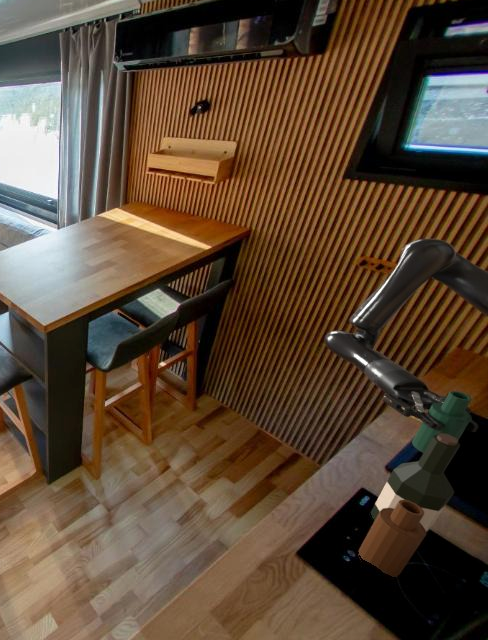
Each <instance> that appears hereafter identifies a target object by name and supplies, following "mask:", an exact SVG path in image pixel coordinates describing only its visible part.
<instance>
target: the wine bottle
mask: <svg viewBox="0 0 488 640" xmlns="http://www.w3.org/2000/svg"><path fill="white" fill-rule="evenodd" d="M460 447H461V444H460V443H459V439H458V440H457V439H456V438H455V437H453V436H451V435H448V434H443V433H440V434H436V435H435V436H433V438H432V439H431V441H430V443H429V445H428V446H427V448H426V450H425V452H424V453H422V455H421V457H420V458H419V460H418V461H417V460H416V461H410V462H404V463H403V462H402V463H401V464H399V465H397V466H396V467H395V468H394V469H393V470H392V471H391V474H390V475H389V477H388V479H387V481H386V482H385V484H384V486H383V488H382V490H381V492H380V494H379V495H378V498H377V500H376V501H375V503H374V505H373V507H372V509H371V511H370V513H371V515H372V518H373V519H374V521H375V519H376V518H377V516H378V514H379V512H380V511H381V510H382V509H383V508H393V509H395V507H396V505H397V503H398V502H399V500H409V501H411V502H413V503H415V504H417V505H418V506H420V507H421V508H422V509H423V511H424V516H423V517H422V519H421V520H420V523H421V524H422V526H423V527H424V528H425V531H426V535H427V534H428V533H429V531H430V529H432V527H433V525H434V524H435V522H436V521H437V519H438V517H439V516H440V515H441V513H442V512H443V510H444V509H445V508H446V506H447V505H448V503H449V502H450V500H451V498H452V497H453V495H454V494H455V490H454V488H453V487H452V485H451V483H450V481H449V480H448V478H447V476H446V473H445V471H446V469H447V467H448V466H449V465H450V463H451V461H452V460H453V458H454V457H455V455H456V453H457V452H458V450H459V449H460ZM372 518H371V519H372ZM373 519H372V520H373ZM374 521H373V522H374Z"/></svg>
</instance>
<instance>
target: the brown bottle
mask: <svg viewBox="0 0 488 640" xmlns="http://www.w3.org/2000/svg"><path fill="white" fill-rule="evenodd" d="M423 516H424V511H423V509H422V508H421V507H420V506H418V505H417V504H415V503H413V502H411V501H409V500H399V502H398V503H397V505H396V507H395V509H393V508H383V509H382V510H381V511H380V512H379V514H378V516H377V518H376V519H375V521H373V523H372V525H371V527H370V528H369V530H368V532H367V534H366V536H365V537H364V539H363V541H362V543H361V545H360V547H359V549H358V552H359V554H358V556H359V555H360V556H361V558H362V559H363V560H365V561H367V562H369V563H371V564H372V565H374V566H376V567H377V568H378V569H380V570H381V571H382V572H383V573H385V574H388V575H390V576H392V577H396V578H398V577H399V576H400V575H401V573H402V571H403V570H404V569H405V568H406V565H408V563H409V561H410V559H411V558H412V557H413V555H414V553H416V551H417V549H418V548H419V546H420V545H421V543H422V541H423V540H424V539H425V537H426V536H427V534H426V531H425V528H424V527H423V526H422V524H421V523H420V520H421V519H422V517H423ZM398 575H399V576H398ZM397 576H398V577H397Z"/></svg>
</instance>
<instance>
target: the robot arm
mask: <svg viewBox="0 0 488 640" xmlns="http://www.w3.org/2000/svg"><path fill="white" fill-rule="evenodd" d="M430 279H433V280H434V281H437V282H439V283H441V284H442V285H444V286H445V287H447V288H448V289H450V290H451V291H453V292H454V293H455V294H456V295H457V296H459V297H460V298H461V299H463V300H464V301H465V302H466V303H468V305H470V306H472V307H473V308H474V309H476V310H477V311H479V312H480V313H481V314H483V315H484V316H486V317H487V318H488V271H487V270H485V269H483V268H481V267H479V266H478V265H477V264H475V263H473V262H472V261H470V260H468V259H467V258H465V257H464V256H462V255H461V254H459V253H458V252H457V251H456V249H455V248H454V246H453V245H452V244H450V243H449V242H448V241H446V240H443V239H437V238H421V239H416V240H413V241H410V242H409V243H407V244H405V245H404V246H403V247H402V249H401V250H400V253H399V259H398V262H397V263H396V266H395V267H394V269H393V270H392V272H391V273H390V274H389V276H388V277H387V278H386V279H385V281H383V283H382V284H380V286H379V287H377V289H376V290H374V292H372V293H371V294H370V295H369V296H368V297H367V298H366V299H365V300H364V301H363V302H362V303H361V304H360V305H359V307H358V308H357V309H356V310H355V311H354V312H353V314H351V316H350V317H349V320H348V323H349V324H350V325H351V326H353V327H354V328H355V331H354V332H353V333H351V332H348V331H345V330H338V329H337V330H332V331H331V330H330V331H329V332H327V333H326V334H325V335H324V339H323V342H324V344H325V346H326V348H327V349H328V350H329V351H330V352H332V353H333V354H335V355H336V356H338V357H339V358H341V359H342V360H345V361H346V362H347V363H348V362H349V363H350V364H351V365H353V366H354V367H355V368H356V369H358V371H360V372H361V373H362V374H364V375H365V376H366V377H367V378H368V379H369V380H370V382H371V383H373V384H374V385H376V387H378V388H379V389H380V390H381V391H383V392H384V396H383V398H382V402H383V403H385V404H386V405H388V406H389V407H391V408H392V409H393V410H395V411H396V412H398V413H399V414H400V415H402V416H404V417H407V418H409V417H414V418H415V419H417V420H420V421H421V423H422V422H423V423H425V424H426V425H427V426H428V427H430V428H432V429H433V430H436V431H440V430H441V428H442V426H443V425H442V424H441V423H440V422H439V421H438V420H436V419H435V418H434V417H433V416H431V415H430V414H429V413H428V412H426V410H428V411H429V410H430V408H431V406H432V405H433V404H434V403H439V402H440V403H444V401H445V400H446V398H447V396H448V394H449V393H447V394H446V395H439V394H438V393H436V392H434V391H432V390H430V389H429V388H428V386H427V384H426V383H425V382H424V381H423V380H421V379H419V377H417V376H416V375H414V374H413V373H411V372H410V371H409V370H407V369H405V368H404V366H401V365H400V364H398V363H397V362H394V360H392V359H390V358H389V357H387V356H386V355H385V354H383V353H381V352H380V351H378V350H376V349H374V348H375V345H376V344H377V341H378V338H379V337H380V334H381V331H382V330H383V329H384V328H385V327H386V326H387V324H388V323H389V322H390V321H391V320H392V319H393V318H394V317H395V316H396V314H397V313H398V312H399V311H400V309H401V308H402V307H403V306H404V305H405V304H406V302H407V301H408V300H409V299H410V298H411V296H413V294H414V293H416V291H417V290H419V288H421V287H422V286H423V285H424V284H425V283H426V282H427V281H429V280H430ZM465 411H467V412H468V413H469V414H470V413H471V412H472V409H470V407H468V406H467V408H466V410H465ZM478 429H479V424H478V423H477V422H476V421H474V420H473V419H471V420H470V422H469V423H468V425H467V427H466V428H465V430H467V431H468V432H470V433H476V432H477V430H478Z"/></svg>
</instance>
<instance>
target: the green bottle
mask: <svg viewBox="0 0 488 640" xmlns="http://www.w3.org/2000/svg"><path fill="white" fill-rule="evenodd" d="M447 394H448V396H447V395H446V396H447V398H446V400H445V401H444V403H440V402H439V403H434V404H433V405H432V406H431V408H430V410H428V411H427V413H429V414H430V415H431V416H433V417H434V418H435V419H436V420H438V421H439V422H440V423H441V424H442V425H443V426H442V428H441V430H440V431H436V430H433V429H432V428H430V427H428V426H427V425H426V424H425V423H423V422H422V421H421V424H420V426H419V428H418V430H416V433H415V435H414V437H413V439H412V441H411V444H412V446H413V447H414V448H415V449H416V450H417V451H419V452H420V453H422V454H423V453H424V452H425V450H426V448H427V446H428V445H429V443H430V441H431V439H432V438H433V436H435V435H436V434H440V433H443V434H448V435H451V436H453V437H455V438H456V439H457V440H458V441H459V440H460V438H461V436H462V435H463V433H464V432H465V430H466V427H467V425H468V423H469V422H470V420H471V419H472V415H471V414H470V413H468V412H467V411H465V410H466V408H467V407H468V406H469V405H470V403H471V401H472V399H473V398H472V397H471V396H470V395H469V394H467V393H465V392H461V391H457V390H452V391H451V390H450V391H449V392H448V393H447ZM472 420H473V419H472Z"/></svg>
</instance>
